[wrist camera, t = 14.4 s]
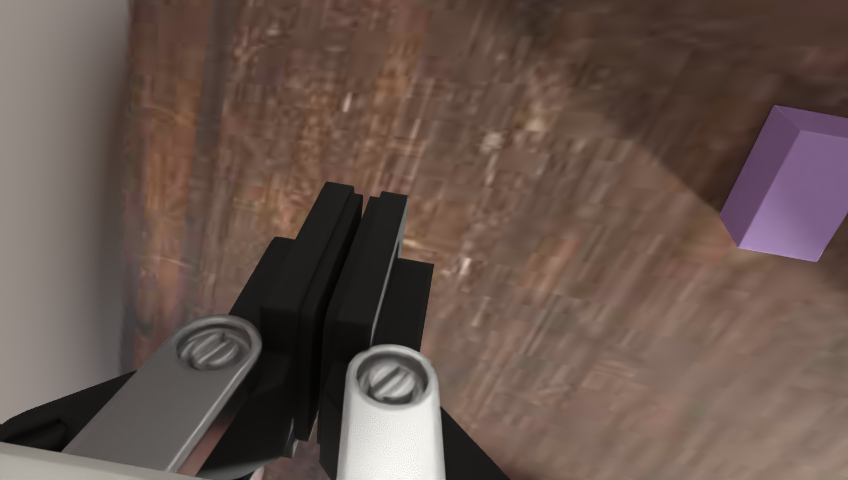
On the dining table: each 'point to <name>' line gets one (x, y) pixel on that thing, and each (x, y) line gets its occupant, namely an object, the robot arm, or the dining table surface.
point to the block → (791, 185)
